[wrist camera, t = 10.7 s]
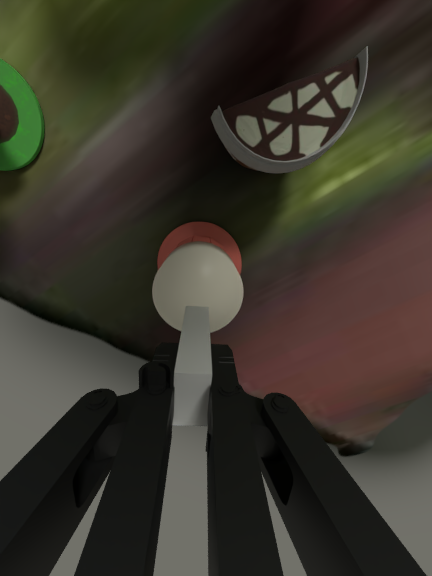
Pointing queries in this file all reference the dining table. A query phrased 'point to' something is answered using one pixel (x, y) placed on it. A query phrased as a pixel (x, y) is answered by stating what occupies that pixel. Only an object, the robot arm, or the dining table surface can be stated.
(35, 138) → the translucent plastic tub
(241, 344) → the dining table surface
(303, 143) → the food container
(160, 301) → the grey rounded piece
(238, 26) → the dining table surface
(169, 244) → the red flanged cylinder
